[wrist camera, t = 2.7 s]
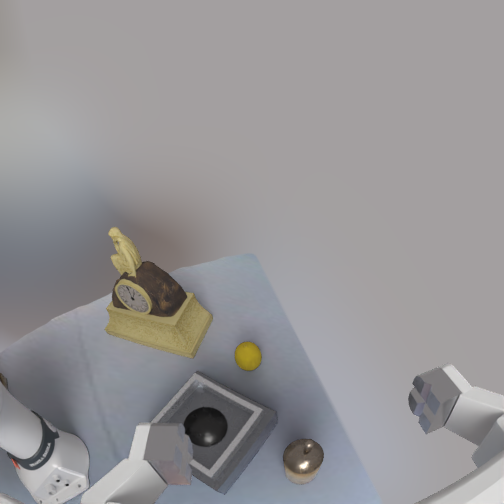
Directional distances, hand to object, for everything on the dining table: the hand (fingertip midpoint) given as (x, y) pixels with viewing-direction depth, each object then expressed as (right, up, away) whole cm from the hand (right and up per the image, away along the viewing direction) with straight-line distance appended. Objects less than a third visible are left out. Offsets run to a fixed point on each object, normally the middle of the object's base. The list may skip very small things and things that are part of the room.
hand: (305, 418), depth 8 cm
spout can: (+7, -33, +31) cm, 46 cm away
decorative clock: (-27, -15, +64) cm, 71 cm away
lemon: (-2, -20, +52) cm, 56 cm away
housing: (-9, -30, +39) cm, 50 cm away
